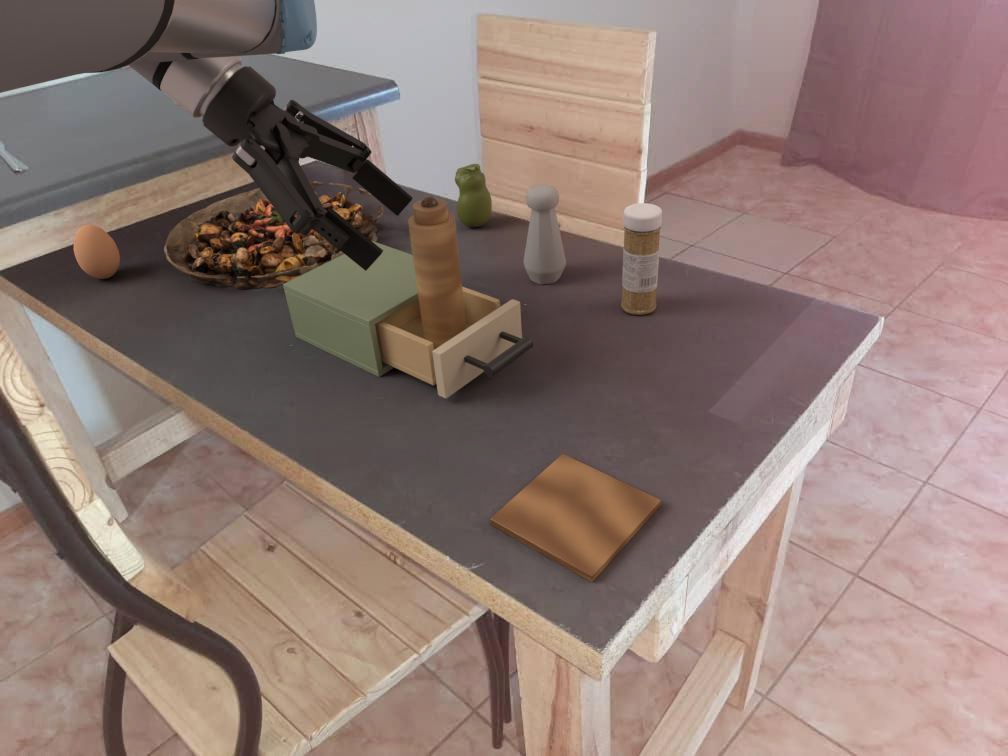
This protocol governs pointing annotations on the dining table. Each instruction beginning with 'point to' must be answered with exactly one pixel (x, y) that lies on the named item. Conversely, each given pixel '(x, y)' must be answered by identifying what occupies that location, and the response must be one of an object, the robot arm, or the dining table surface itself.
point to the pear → (473, 196)
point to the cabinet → (351, 305)
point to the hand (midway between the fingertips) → (391, 232)
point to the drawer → (455, 343)
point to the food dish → (256, 241)
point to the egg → (96, 252)
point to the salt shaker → (543, 236)
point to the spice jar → (640, 257)
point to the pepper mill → (437, 270)
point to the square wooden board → (576, 516)
